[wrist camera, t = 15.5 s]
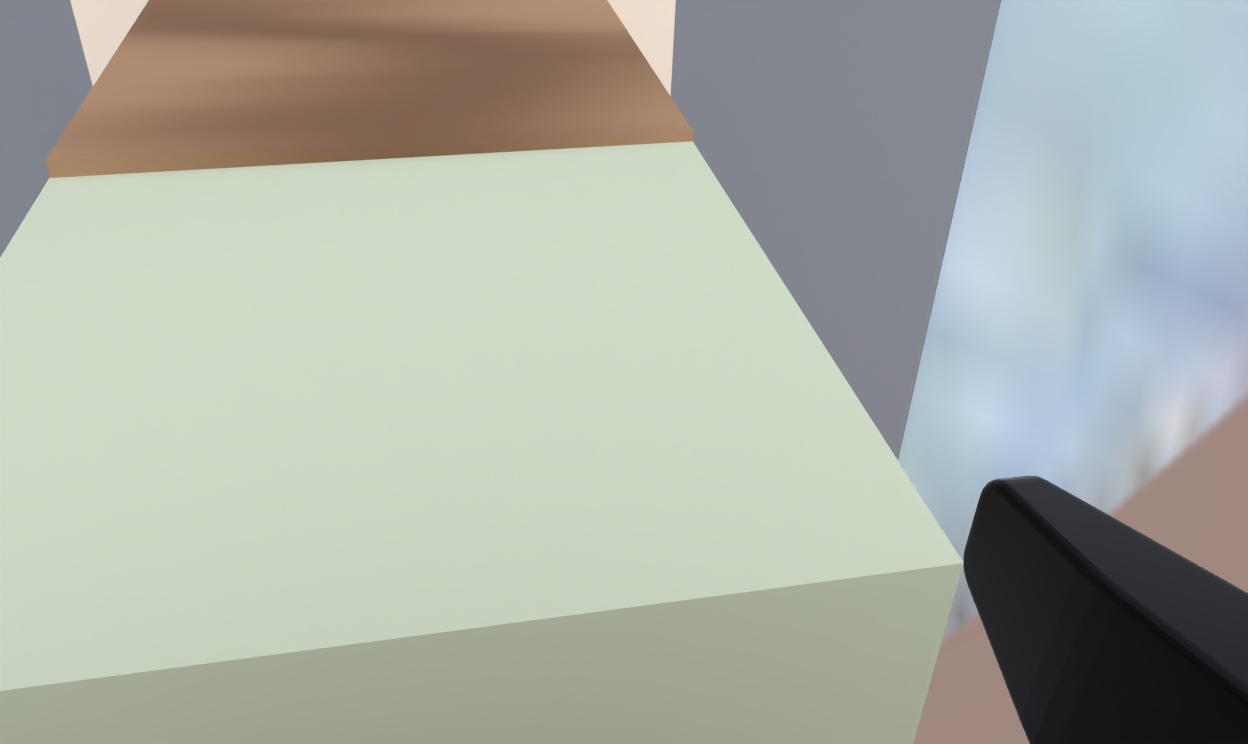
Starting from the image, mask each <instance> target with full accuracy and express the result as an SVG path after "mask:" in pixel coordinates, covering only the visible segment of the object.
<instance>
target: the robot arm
mask: <svg viewBox="0 0 1248 744" xmlns="http://www.w3.org/2000/svg"><path fill="white" fill-rule="evenodd" d="M963 562H964V573H965V577H966V581H967V584H968V587H969V589H970V592H971V595H972V597H973V600H974V602H975V605H976V608H977V610H978V613H979V615H980V618H981V620H982V623H983V625H984V628H985V631H986V633H987V636H988V639H989V641H990V644H991V646H992V649H993V651H994V654H995V657H996V659H997V662H998V664H999V667H1000V669H1001V672H1002V675H1003V677H1004V680H1005V682H1006V685H1007V688H1008V690H1009V693H1010V695H1011V698H1012V701H1013V703H1014V706H1015V708H1016V710H1017V714H1018V716H1019V719H1020V721H1021V723H1022V726H1023V728H1024V731H1025V733H1026V736H1027V738H1028V740H1029V742H1030V744H1248V593H1247V592H1245V591H1243V590H1241V589H1240V588H1238V587H1236V586H1234V585H1233V584H1231V583H1229V582H1227V581H1225V580H1224V579H1222V578H1220V577H1218V576H1216V575H1215V574H1213V573H1211V572H1209V571H1208V570H1206V569H1204V568H1202V567H1200V566H1198V565H1197V564H1195V563H1193V562H1191V561H1190V560H1188V559H1186V558H1184V557H1183V556H1181V555H1179V554H1177V553H1175V552H1174V551H1172V550H1170V549H1168V548H1167V547H1165V546H1163V545H1161V544H1159V543H1158V542H1156V541H1154V540H1152V539H1150V538H1149V537H1147V536H1145V535H1143V534H1142V533H1140V532H1138V531H1136V530H1134V529H1133V528H1131V527H1129V526H1127V525H1125V524H1124V523H1122V522H1120V521H1118V520H1117V519H1115V518H1113V517H1111V516H1109V515H1108V514H1106V513H1104V512H1102V511H1100V510H1099V509H1097V508H1095V507H1093V506H1092V505H1090V504H1088V503H1086V502H1084V501H1083V500H1081V499H1079V498H1077V497H1076V496H1074V495H1072V494H1070V493H1068V492H1067V491H1065V490H1063V489H1061V488H1059V487H1058V486H1056V485H1054V484H1052V483H1051V482H1049V481H1047V480H1045V479H1043V478H1041V477H1037V476H1021V477H1012V478H1003V479H996V480H993V481H991V482H989V483H988V484H987V485H986V486H985V487H984V488H983V490H982V492H981V495H980V498H979V502H978V505H977V509H976V512H975V515H974V519H973V522H972V526H971V529H970V533H969V536H968V540H967V543H966V547H965V551H964V560H963Z"/></svg>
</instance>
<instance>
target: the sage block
mask: <svg viewBox="0 0 1248 744" xmlns="http://www.w3.org/2000/svg"><path fill="white" fill-rule="evenodd" d="M963 564H964V562H963V561H962V559H961V558H960V556H959V555H958V553H957V552H956V550H955V548H954V547H953V545H952V544H951V542H950V541H949V539H948V538H947V536H946V535H945V533H944V531H943V530H942V528H941V527H940V525H939V524H938V522H937V521H936V519H935V517H934V516H933V514H932V513H931V511H930V510H929V508H928V507H927V505H926V503H925V502H924V500H923V499H922V497H921V496H920V494H919V493H918V491H917V489H916V488H915V486H914V485H913V483H912V482H911V480H910V479H909V477H908V475H907V474H906V472H905V471H904V469H903V468H902V466H901V465H900V463H899V461H898V460H897V458H896V457H895V455H894V454H893V452H892V451H891V449H890V447H889V446H888V444H887V443H886V441H885V440H884V438H883V437H882V435H881V433H880V432H879V430H878V429H877V427H876V426H875V424H874V423H873V421H872V419H871V418H870V416H869V415H868V413H867V412H866V410H865V409H864V407H863V405H862V404H861V402H860V401H859V399H858V398H857V396H856V395H855V393H854V391H853V390H852V388H851V387H850V385H849V384H848V382H847V381H846V379H845V377H844V376H843V374H842V373H841V371H840V370H839V368H838V367H837V365H836V363H835V362H834V360H833V359H832V357H831V356H830V354H829V353H828V351H827V349H826V348H825V346H824V345H823V343H822V342H821V340H820V339H819V337H818V335H817V334H816V332H815V331H814V329H813V328H812V326H811V325H810V323H809V321H808V320H807V318H806V317H805V315H804V314H803V312H802V311H801V309H800V307H799V306H798V304H797V303H796V301H795V300H794V298H793V297H792V295H791V293H790V292H789V290H788V289H787V287H786V286H785V284H784V283H783V281H782V279H781V278H780V276H779V275H778V273H777V272H776V270H775V269H774V267H773V265H772V264H771V262H770V261H769V259H768V258H767V256H766V255H765V253H764V251H763V250H762V248H761V247H760V245H759V244H758V242H757V241H756V239H755V237H754V236H753V234H752V233H751V231H750V230H749V228H748V227H747V225H746V223H745V222H744V220H743V219H742V217H741V216H740V214H739V213H738V211H737V209H736V208H735V206H734V205H733V203H732V202H731V200H730V199H729V197H728V195H727V194H726V192H725V191H724V189H723V188H722V186H721V185H720V183H719V181H718V180H717V178H716V177H715V175H714V174H713V172H712V171H711V169H710V168H709V166H708V164H707V163H706V161H705V160H704V158H703V157H702V155H701V154H700V152H699V150H698V149H697V147H696V146H695V144H694V143H693V141H690V142H672V143H654V144H637V145H619V146H602V147H584V148H567V149H549V150H532V151H514V152H497V153H479V154H462V155H444V156H427V157H409V158H392V159H374V160H357V161H339V162H322V163H304V164H287V165H269V166H252V167H234V168H217V169H199V170H182V171H164V172H147V173H129V174H111V175H94V176H76V177H59V178H49V179H48V181H47V183H46V184H45V186H44V188H43V189H42V191H41V192H40V194H39V196H38V197H37V199H36V200H35V202H34V204H33V205H32V207H31V209H30V210H29V212H28V213H27V215H26V217H25V218H24V220H23V222H22V223H21V225H20V226H19V228H18V230H17V231H16V233H15V235H14V236H13V238H12V239H11V241H10V243H9V244H8V246H7V247H6V249H5V251H4V252H3V254H2V256H1V257H0V744H914V740H915V737H916V733H917V729H918V726H919V722H920V719H921V715H922V711H923V708H924V704H925V701H926V697H927V694H928V690H929V686H930V683H931V679H932V676H933V672H934V669H935V665H936V661H937V658H938V654H939V650H940V647H941V643H942V640H943V636H944V633H945V629H946V625H947V622H948V618H949V615H950V611H951V608H952V604H953V600H954V597H955V593H956V590H957V586H958V582H959V579H960V575H961V572H962V568H963Z"/></svg>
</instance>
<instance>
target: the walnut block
mask: <svg viewBox="0 0 1248 744" xmlns="http://www.w3.org/2000/svg"><path fill="white" fill-rule="evenodd" d="M690 141H693V143H694V131H693V130H692V128H691V127H690V125H689V124H688V122H687V121H686V119H685V118H684V116H683V115H682V113H681V112H680V110H679V108H678V107H677V105H676V104H675V102H674V101H673V99H672V98H671V96H670V95H669V93H668V92H667V90H666V89H665V87H664V86H663V84H662V83H661V81H660V80H659V78H658V77H657V75H656V74H655V72H654V71H653V69H652V67H651V66H650V64H649V63H648V61H647V60H646V58H645V57H644V55H643V54H642V52H641V51H640V49H639V48H638V46H637V45H636V43H635V42H634V40H633V39H632V37H631V36H630V34H629V33H628V31H627V29H626V28H625V26H624V25H623V23H622V22H621V20H620V19H619V17H618V16H617V14H616V13H615V11H614V10H613V8H612V7H611V5H610V4H609V2H608V1H607V0H149V1H148V2H147V4H146V5H145V7H144V8H143V10H142V11H141V13H140V15H139V16H138V18H137V19H136V21H135V22H134V24H133V25H132V27H131V28H130V30H129V32H128V33H127V35H126V36H125V38H124V39H123V41H122V42H121V44H120V46H119V47H118V49H117V50H116V52H115V53H114V55H113V56H112V58H111V59H110V61H109V63H108V64H107V66H106V67H105V69H104V70H103V72H102V73H101V75H100V76H99V78H98V80H97V81H96V83H95V84H94V86H93V87H92V89H91V90H90V92H89V93H88V95H87V97H86V98H85V100H84V101H83V103H82V104H81V106H80V107H79V109H78V110H77V112H76V114H75V115H74V117H73V118H72V120H71V121H70V123H69V124H68V126H67V128H66V129H65V131H64V132H63V134H62V135H61V137H60V138H59V140H58V141H57V143H56V145H55V146H54V148H53V149H52V151H51V152H50V154H49V155H48V157H47V158H46V160H45V161H46V164H47V168H48V171H49V174H50V178H59V177H76V176H94V175H111V174H129V173H147V172H164V171H182V170H199V169H217V168H234V167H252V166H269V165H287V164H304V163H322V162H339V161H357V160H374V159H392V158H409V157H427V156H444V155H462V154H479V153H497V152H514V151H532V150H549V149H567V148H584V147H602V146H619V145H637V144H654V143H672V142H690Z"/></svg>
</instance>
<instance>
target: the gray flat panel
mask: <svg viewBox="0 0 1248 744" xmlns="http://www.w3.org/2000/svg"><path fill="white" fill-rule="evenodd" d="M148 1H149V0H0V257H1V256H2V254H3V252H4V251H5V249H6V247H7V246H8V244H9V243H10V241H11V239H12V238H13V236H14V235H15V233H16V231H17V230H18V228H19V226H20V225H21V223H22V222H23V220H24V218H25V217H26V215H27V213H28V212H29V210H30V209H31V207H32V205H33V204H34V202H35V200H36V199H37V197H38V196H39V194H40V192H41V191H42V189H43V188H44V186H45V184H46V183H47V181H48V179H49V178H50V174H49V171H48V168H47V164H46V161H45V160H46V158H47V157H48V155H49V154H50V152H51V151H52V149H53V148H54V146H55V145H56V143H57V141H58V140H59V138H60V137H61V135H62V134H63V132H64V131H65V129H66V128H67V126H68V124H69V123H70V121H71V120H72V118H73V117H74V115H75V114H76V112H77V110H78V109H79V107H80V106H81V104H82V103H83V101H84V100H85V98H86V97H87V95H88V93H89V92H90V90H91V89H92V87H93V86H94V84H95V83H96V81H97V80H98V78H99V76H100V75H101V73H102V72H103V70H104V69H105V67H106V66H107V64H108V63H109V61H110V59H111V58H112V56H113V55H114V53H115V52H116V50H117V49H118V47H119V46H120V44H121V42H122V41H123V39H124V38H125V36H126V35H127V33H128V32H129V30H130V28H131V27H132V25H133V24H134V22H135V21H136V19H137V18H138V16H139V15H140V13H141V11H142V10H143V8H144V7H145V5H146V4H147V2H148ZM607 1H608V2H609V4H610V5H611V7H612V8H613V10H614V11H615V13H616V14H617V16H618V17H619V19H620V20H621V22H622V23H623V25H624V26H625V28H626V29H627V31H628V33H629V34H630V36H631V37H632V39H633V40H634V42H635V43H636V45H637V46H638V48H639V49H640V51H641V52H642V54H643V55H644V57H645V58H646V60H647V61H648V63H649V64H650V66H651V67H652V69H653V71H654V72H655V74H656V75H657V77H658V78H659V80H660V81H661V83H662V84H663V86H664V87H665V89H666V90H667V92H668V93H669V95H670V96H671V98H672V99H673V101H674V102H675V104H676V105H677V107H678V108H679V110H680V112H681V113H682V115H683V116H684V118H685V119H686V121H687V122H688V124H689V125H690V127H691V128H692V130H693V131H694V144H695V146H696V147H697V149H698V150H699V152H700V154H701V155H702V157H703V158H704V160H705V161H706V163H707V164H708V166H709V168H710V169H711V171H712V172H713V174H714V175H715V177H716V178H717V180H718V181H719V183H720V185H721V186H722V188H723V189H724V191H725V192H726V194H727V195H728V197H729V199H730V200H731V202H732V203H733V205H734V206H735V208H736V209H737V211H738V213H739V214H740V216H741V217H742V219H743V220H744V222H745V223H746V225H747V227H748V228H749V230H750V231H751V233H752V234H753V236H754V237H755V239H756V241H757V242H758V244H759V245H760V247H761V248H762V250H763V251H764V253H765V255H766V256H767V258H768V259H769V261H770V262H771V264H772V265H773V267H774V269H775V270H776V272H777V273H778V275H779V276H780V278H781V279H782V281H783V283H784V284H785V286H786V287H787V289H788V290H789V292H790V293H791V295H792V297H793V298H794V300H795V301H796V303H797V304H798V306H799V307H800V309H801V311H802V312H803V314H804V315H805V317H806V318H807V320H808V321H809V323H810V325H811V326H812V328H813V329H814V331H815V332H816V334H817V335H818V337H819V339H820V340H821V342H822V343H823V345H824V346H825V348H826V349H827V351H828V353H829V354H830V356H831V357H832V359H833V360H834V362H835V363H836V365H837V367H838V368H839V370H840V371H841V373H842V374H843V376H844V377H845V379H846V381H847V382H848V384H849V385H850V387H851V388H852V390H853V391H854V393H855V395H856V396H857V398H858V399H859V401H860V402H861V404H862V405H863V407H864V409H865V410H866V412H867V413H868V415H869V416H870V418H871V419H872V421H873V423H874V424H875V426H876V427H877V429H878V430H879V432H880V433H881V435H882V437H883V438H884V440H885V441H886V443H887V444H888V446H889V447H890V449H891V451H892V452H893V454H894V455H895V457H896V458H897V460H898V458H899V453H900V449H901V444H902V440H903V435H904V431H905V426H906V422H907V417H908V413H909V409H910V404H911V400H912V395H913V391H914V386H915V382H916V377H917V373H918V368H919V364H920V360H921V355H922V351H923V346H924V342H925V337H926V333H927V328H928V324H929V319H930V315H931V311H932V306H933V302H934V297H935V293H936V288H937V284H938V279H939V275H940V270H941V266H942V262H943V257H944V253H945V248H946V244H947V239H948V235H949V230H950V226H951V221H952V217H953V213H954V208H955V204H956V199H957V195H958V190H959V186H960V181H961V177H962V172H963V168H964V164H965V159H966V155H967V150H968V146H969V141H970V137H971V132H972V128H973V123H974V119H975V115H976V110H977V106H978V101H979V97H980V92H981V88H982V83H983V79H984V74H985V70H986V66H987V61H988V57H989V52H990V48H991V43H992V39H993V34H994V30H995V25H996V21H997V17H998V12H999V8H1000V3H1001V0H607Z"/></svg>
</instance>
